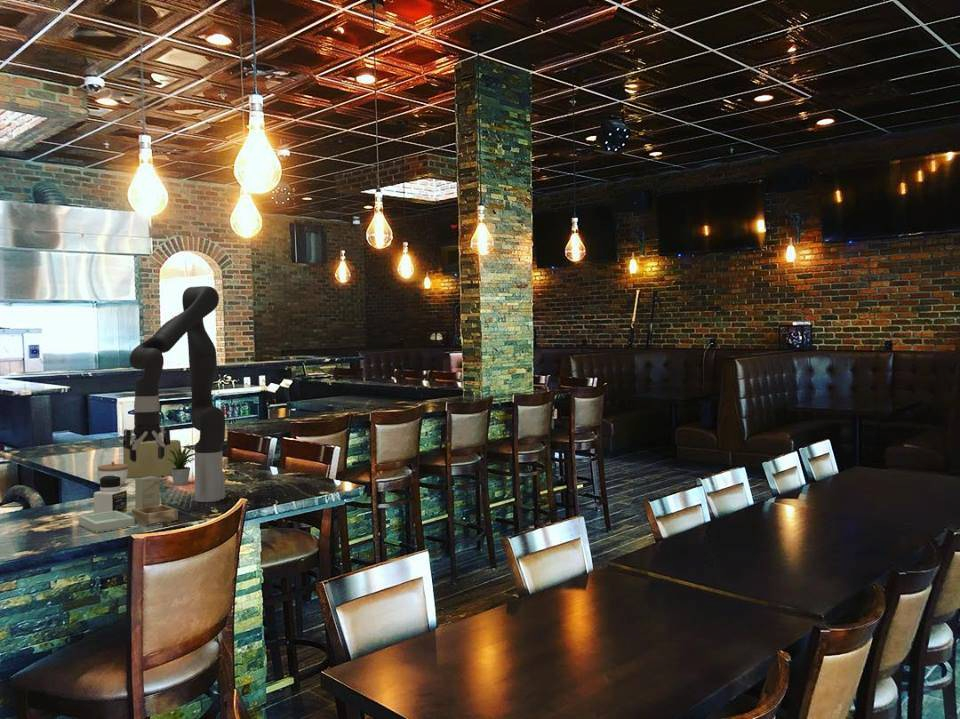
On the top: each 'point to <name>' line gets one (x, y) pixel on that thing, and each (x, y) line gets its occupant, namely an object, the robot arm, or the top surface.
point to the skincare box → (147, 492)
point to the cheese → (150, 460)
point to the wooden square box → (155, 514)
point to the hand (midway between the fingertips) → (147, 460)
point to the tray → (106, 521)
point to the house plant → (180, 465)
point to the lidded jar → (114, 471)
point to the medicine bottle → (110, 495)
